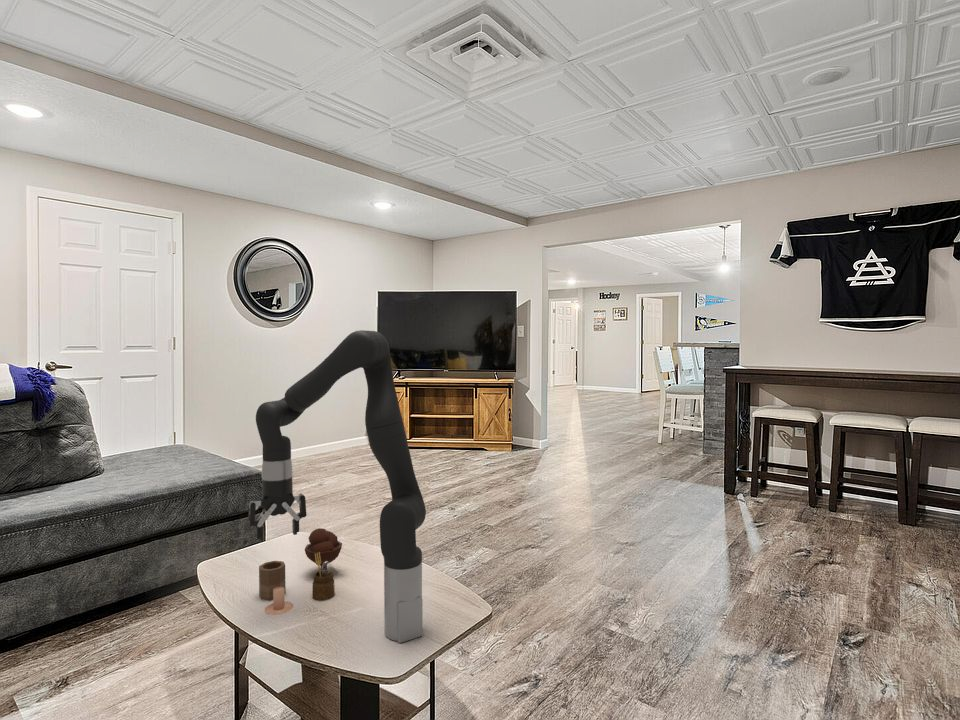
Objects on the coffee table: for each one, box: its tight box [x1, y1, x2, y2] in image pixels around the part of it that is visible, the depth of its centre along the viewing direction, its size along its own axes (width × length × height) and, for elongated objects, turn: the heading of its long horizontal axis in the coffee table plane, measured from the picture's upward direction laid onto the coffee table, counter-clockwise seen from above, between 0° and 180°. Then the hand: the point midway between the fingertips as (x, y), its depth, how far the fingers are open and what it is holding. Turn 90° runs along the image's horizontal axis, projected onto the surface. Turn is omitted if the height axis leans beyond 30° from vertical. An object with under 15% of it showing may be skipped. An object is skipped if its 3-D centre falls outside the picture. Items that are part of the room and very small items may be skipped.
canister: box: [258, 560, 286, 601], centre depth 150 cm, size 6×6×9 cm
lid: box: [263, 587, 294, 616], centre depth 142 cm, size 7×7×6 cm
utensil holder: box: [311, 552, 336, 602], centre depth 149 cm, size 6×6×12 cm
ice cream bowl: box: [304, 527, 343, 571], centre depth 163 cm, size 11×11×15 cm
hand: (278, 537), depth 142 cm, fingers open, 8 cm apart
